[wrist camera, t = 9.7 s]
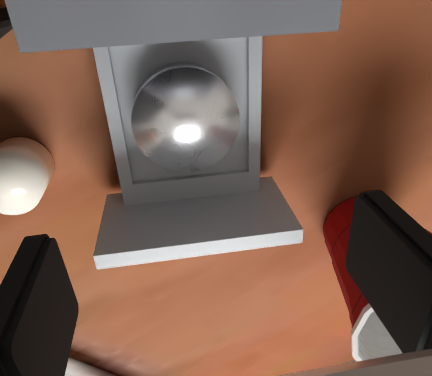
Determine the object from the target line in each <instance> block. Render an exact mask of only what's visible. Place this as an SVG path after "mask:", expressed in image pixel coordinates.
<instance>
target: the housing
mask: <svg viewBox="0 0 432 376" xmlns="http://www.w3.org/2000/svg"><path fill="white" fill-rule="evenodd" d="M5 3H6V7H7V10H8V14H9V17H10V20H11V24H12V27H13V30H14V34H15V37H16V40H17V44H18V47H19V51H20V53H26V52H40V51H54V50H69V49H83V48H97V47H112V46H126V45H140V44H155V43H169V42H184V41H198V40H212V39H227V38H241V37H255V36H270V35H284V34H298V33H313V32H327V31H339V22H340V13H341V4H342V0H5Z"/></svg>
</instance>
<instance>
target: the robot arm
mask: <svg viewBox="0 0 432 376" xmlns="http://www.w3.org/2000/svg"><path fill="white" fill-rule="evenodd" d="M345 266H346V269H347V272H348V273H349V275H350V276H351V278H352V279H353V281H354V282H355V284H356V285H357V287H358V288H359V290H360V291H361V292H362V294H363V295H364V297H365V298H366V300H367V301H368V303H369V304H370V306H371V307H372V309H373V310H374V312H375V313H376V315H377V316H378V318H379V319H380V321H381V322H382V323H383V325H384V326H385V328H386V329H387V331H388V332H389V334H390V335H391V337H392V338H393V340H394V341H395V343H396V344H397V346H398V347H399V349H400V350H401V352H402V354H397V355H391V356H385V357H380V358H374V359H369V360H363V361H357V362H352V363H346V364H340V365H335V366H329V367H324V368H318V369H312V370H307V371H301V372H296V373H291V374H285V375H280V376H432V235H431V234H429V233H428V232H427V231H426V230H425V229H424V228H423V227H422V226H421V225H419V224H418V223H417V222H416V221H415V220H414V219H413V218H412V217H411V216H409V215H408V214H407V213H406V212H405V211H404V210H403V209H402V208H401V207H400V206H398V205H397V204H396V203H395V202H394V201H393V200H392V199H391V198H390V197H388V196H387V195H386V194H385V193H384V192H383V191H381V190H374V191H366V192H362V193H361V194H360V195H359V197H357V198H356V199H355V202H354V208H353V214H352V220H351V227H350V233H349V240H348V246H347V252H346V259H345ZM77 317H78V302H77V299H76V296H75V293H74V290H73V287H72V285H71V282H70V279H69V276H68V273H67V270H66V267H65V264H64V261H63V259H62V256H61V253H60V250H59V247H58V244H57V241H56V239H55V238H49V236H48V235H47V234H42V235H34V236H27V237H25V238H24V239H23V241H22V243H21V245H20V247H19V249H18V251H17V253H16V255H15V257H14V259H13V261H12V263H11V265H10V267H9V269H8V271H7V273H6V275H5V277H4V279H3V281H2V283H1V285H0V376H65V371H66V367H67V362H68V358H69V353H70V348H71V344H72V339H73V335H74V330H75V326H76V321H77Z"/></svg>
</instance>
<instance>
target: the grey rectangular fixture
mask: <svg viewBox="0 0 432 376" xmlns="http://www.w3.org/2000/svg"><path fill="white" fill-rule="evenodd" d="M93 51H94V56H95V61H96V66H97V71H98V76H99V81H100V86H101V91H102V96H103V101H104V106H105V111H106V116H107V121H108V126H109V131H110V136H111V141H112V146H113V151H114V156H115V161H116V166H117V171H118V176H119V181H120V185H121V190H122V193H117V194H108V195H107V198H106V202H105V206H104V211H103V215H102V220H101V224H100V229H99V233H98V237H97V242H96V246H95V251H94V255H93V257H94V261H95V264H96V268H97V269H105V268H113V267H120V266H128V265H135V264H143V263H151V262H158V261H166V260H174V259H181V258H189V257H196V256H204V255H212V254H219V253H227V252H234V251H242V250H250V249H257V248H265V247H273V246H280V245H288V244H295V243H302V239H303V228H302V226H301V225H300V223H299V221H298V220H297V218H296V216H295V215H294V213H293V211H292V210H291V208H290V206H289V205H288V203H287V201H286V200H285V198H284V196H283V195H282V193H281V192H280V190H279V188H278V187H277V185H276V183H275V182H274V180H273V178H272V177H262V178H260V146H261V84H262V36H255V37H241V38H227V39H212V40H198V41H184V42H169V43H155V44H140V45H126V46H112V47H97V48H93ZM177 62H191V63H196V64H200V65H202V66H205V67H207V68H209V69H211V70H212V71H214V72H215V73H216V74H218V75H219V76H220V77H221V78H222V79H223V81H224V82H225V83H226V85H227V86H228V88H229V89H230V91H231V92H232V94H233V96H234V98H235V100H236V102H237V105H238V109H239V115H240V125H239V131H238V135H237V138H236V140H235V142H234V144H233V146H232V148H231V149H230V150H229V152H228V153H227V154H226V155H225V156H224V157H223V158H222V159H221V160H220V161H218V162H217V163H215V164H214V165H212V166H210V167H208V168H206V169H203V170H199V171H194V172H176V171H171V170H168V169H165V168H163V167H160V166H158V165H157V164H155V163H154V162H152V161H151V160H150V159H148V158H147V157H146V156H145V155H144V153H143V152H142V151H141V150H140V148H139V146H138V145H137V143H136V141H135V138H134V135H133V132H132V125H131V115H132V109H133V104H134V100H135V97H136V94H137V92H138V89H139V87H140V86H141V84H142V83H143V81H144V80H145V79H146V78H147V77H148V76H149V75H150V74H151V73H152V72H154V71H155V70H157V69H159V68H161V67H163V66H165V65H168V64H171V63H177Z"/></svg>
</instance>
